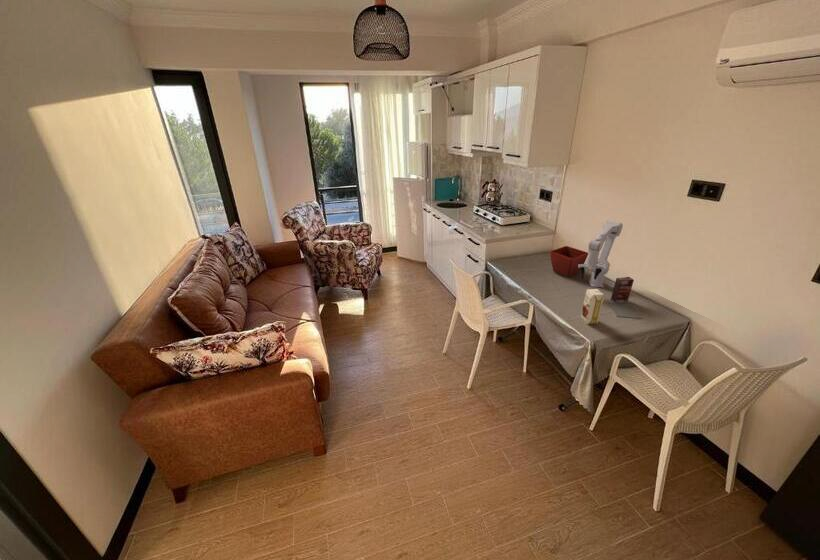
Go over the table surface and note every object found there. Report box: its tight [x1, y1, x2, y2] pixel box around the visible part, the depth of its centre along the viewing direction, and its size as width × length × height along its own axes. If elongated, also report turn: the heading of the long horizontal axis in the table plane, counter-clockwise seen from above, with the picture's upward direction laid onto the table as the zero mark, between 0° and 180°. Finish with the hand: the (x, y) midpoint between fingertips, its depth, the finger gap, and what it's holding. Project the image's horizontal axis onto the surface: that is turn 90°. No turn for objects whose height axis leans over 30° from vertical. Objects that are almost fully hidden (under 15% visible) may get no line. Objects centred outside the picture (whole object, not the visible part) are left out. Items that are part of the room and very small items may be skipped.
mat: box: [608, 302, 643, 320], centre depth 197 cm, size 16×13×1 cm
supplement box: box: [610, 276, 635, 304], centre depth 204 cm, size 9×5×16 cm, turn 97°
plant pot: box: [550, 245, 589, 278], centre depth 245 cm, size 19×19×17 cm
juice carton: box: [580, 288, 605, 325], centre depth 185 cm, size 8×9×19 cm
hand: (588, 278), depth 214 cm, fingers open, 7 cm apart
